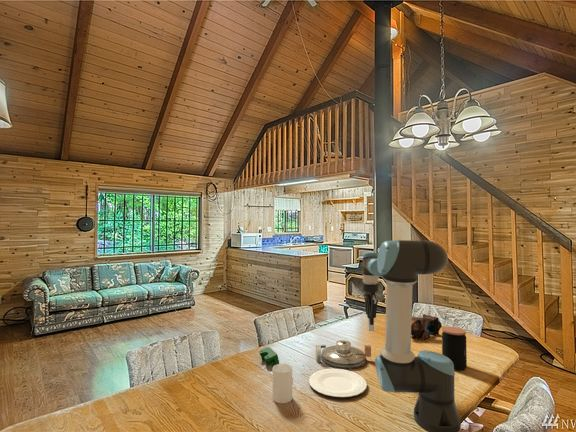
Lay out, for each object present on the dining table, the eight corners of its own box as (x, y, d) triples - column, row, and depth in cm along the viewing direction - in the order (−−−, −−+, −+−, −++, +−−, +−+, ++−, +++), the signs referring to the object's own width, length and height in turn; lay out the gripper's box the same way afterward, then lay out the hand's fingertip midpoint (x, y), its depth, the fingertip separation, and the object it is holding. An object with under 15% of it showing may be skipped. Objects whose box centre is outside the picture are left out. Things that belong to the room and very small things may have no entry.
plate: (321, 405, 124) (321, 400, 124) (301, 376, 148) (301, 371, 148) (378, 396, 130) (378, 391, 130) (350, 369, 155) (350, 365, 155)
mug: (284, 386, 138) (284, 358, 138) (296, 400, 127) (296, 370, 127) (266, 390, 134) (266, 361, 135) (276, 405, 123) (276, 373, 124)
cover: (344, 358, 159) (344, 347, 159) (330, 352, 166) (330, 341, 166) (356, 353, 165) (356, 342, 165) (342, 348, 172) (342, 337, 173)
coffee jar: (470, 372, 151) (469, 334, 151) (445, 370, 153) (445, 332, 154) (462, 362, 161) (461, 327, 162) (439, 361, 164) (439, 325, 164)
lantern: (430, 342, 207) (404, 348, 194) (416, 319, 216) (391, 323, 203) (448, 331, 197) (423, 336, 184) (433, 307, 206) (408, 310, 193)
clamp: (263, 369, 164) (257, 351, 167) (273, 363, 167) (267, 346, 169) (269, 369, 154) (263, 350, 156) (280, 363, 157) (274, 345, 159)
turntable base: (345, 374, 148) (345, 357, 149) (309, 359, 165) (309, 343, 166) (374, 359, 165) (374, 344, 165) (339, 347, 182) (339, 333, 182)
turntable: (321, 363, 156) (321, 352, 156) (322, 346, 178) (322, 336, 178) (373, 366, 153) (373, 354, 153) (368, 348, 175) (368, 338, 175)
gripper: (383, 285, 152) (383, 335, 152) (373, 280, 165) (373, 326, 165) (367, 285, 152) (368, 335, 151) (358, 280, 165) (359, 326, 164)
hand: (370, 330), depth 158 cm, fingers closed
